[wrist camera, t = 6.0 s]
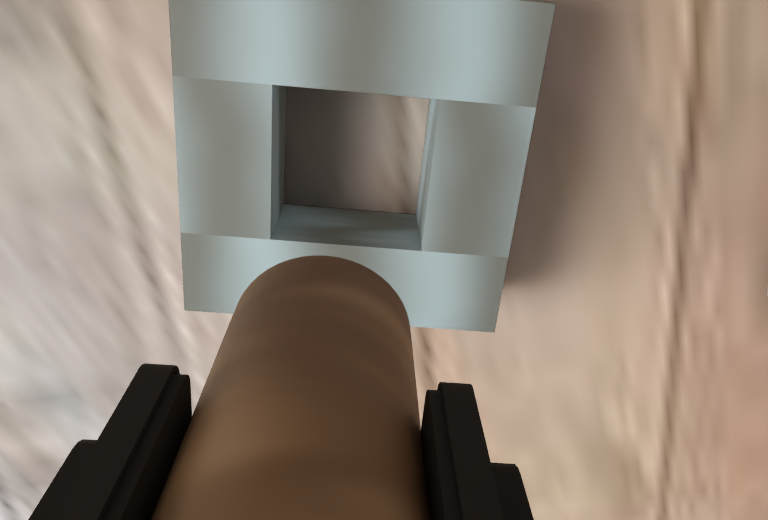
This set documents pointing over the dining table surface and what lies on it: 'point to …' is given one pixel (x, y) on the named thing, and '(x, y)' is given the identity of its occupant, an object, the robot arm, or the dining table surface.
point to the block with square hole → (367, 75)
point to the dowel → (306, 406)
